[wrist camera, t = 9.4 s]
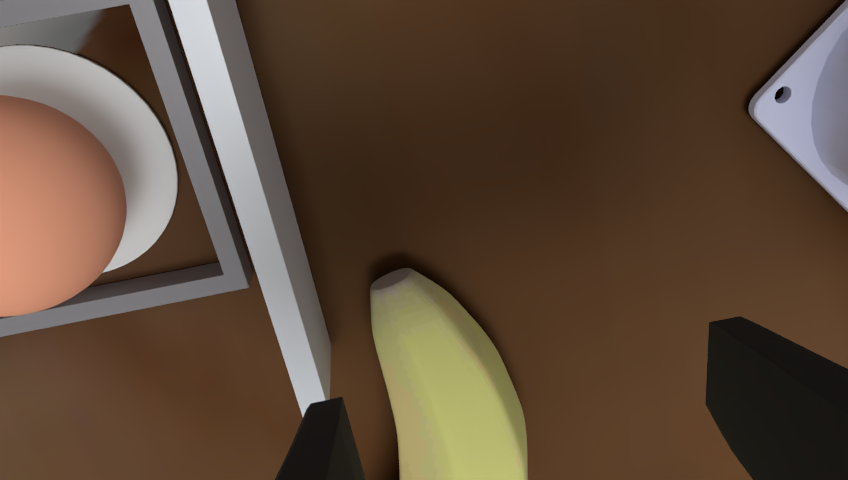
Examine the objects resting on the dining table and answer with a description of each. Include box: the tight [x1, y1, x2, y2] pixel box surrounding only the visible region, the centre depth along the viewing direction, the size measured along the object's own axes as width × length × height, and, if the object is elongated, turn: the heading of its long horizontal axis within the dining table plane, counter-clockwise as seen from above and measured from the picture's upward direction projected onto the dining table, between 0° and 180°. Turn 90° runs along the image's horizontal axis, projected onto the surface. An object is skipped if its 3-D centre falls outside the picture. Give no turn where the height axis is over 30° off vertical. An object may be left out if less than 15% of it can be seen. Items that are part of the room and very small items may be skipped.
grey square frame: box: [0, 0, 253, 337], centre depth 19 cm, size 9×9×1 cm
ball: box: [0, 95, 127, 317], centre depth 16 cm, size 6×6×6 cm
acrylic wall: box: [168, 0, 331, 417], centre depth 18 cm, size 16×1×4 cm, turn 9°
